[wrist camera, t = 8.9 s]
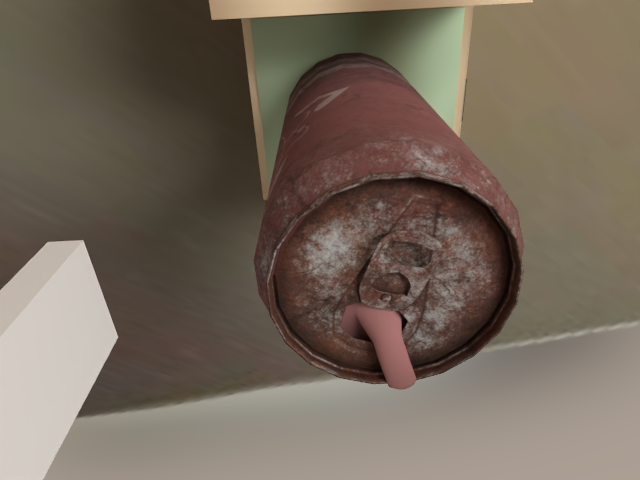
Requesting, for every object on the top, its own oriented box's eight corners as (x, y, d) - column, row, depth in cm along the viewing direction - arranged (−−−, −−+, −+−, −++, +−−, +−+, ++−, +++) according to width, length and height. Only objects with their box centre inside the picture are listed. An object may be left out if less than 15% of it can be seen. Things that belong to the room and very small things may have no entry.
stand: (273, 160, 29) (248, 261, 19) (235, -195, 21) (152, -371, 10) (432, 152, 29) (497, 250, 19) (460, -210, 21) (607, -404, 10)
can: (314, 198, 24) (314, 429, 12) (266, 79, 21) (197, 222, 9) (428, 160, 23) (557, 368, 11) (394, 29, 20) (521, 110, 8)
